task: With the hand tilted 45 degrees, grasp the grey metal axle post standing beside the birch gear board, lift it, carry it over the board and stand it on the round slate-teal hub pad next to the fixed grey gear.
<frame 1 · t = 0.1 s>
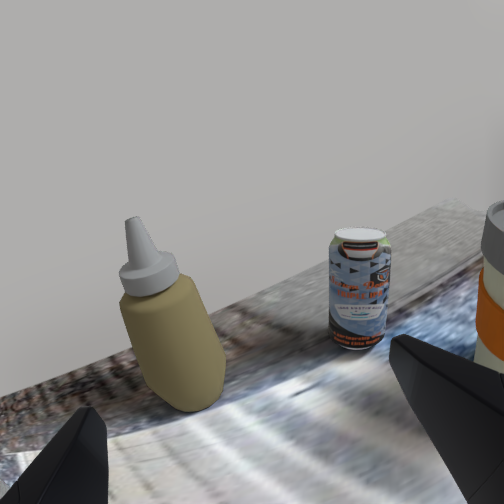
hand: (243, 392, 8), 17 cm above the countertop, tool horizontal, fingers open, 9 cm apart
beverage can: (358, 337, 33), on the countertop
squeeze bottle: (195, 392, 30), on the countertop
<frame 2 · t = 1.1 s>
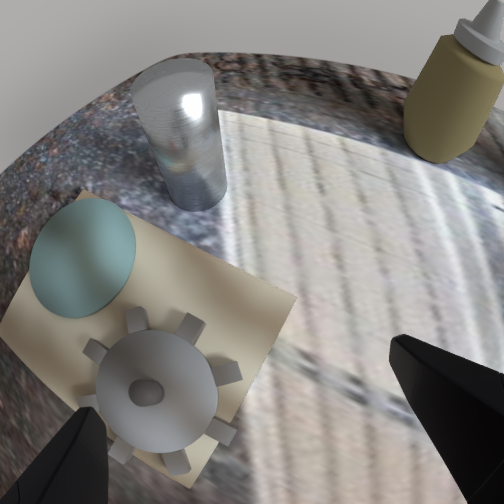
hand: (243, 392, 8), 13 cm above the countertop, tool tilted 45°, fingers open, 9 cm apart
board: (122, 325, 21), on the countertop
axle: (198, 186, 26), on the countertop
squeeze bottle: (426, 143, 28), on the countertop
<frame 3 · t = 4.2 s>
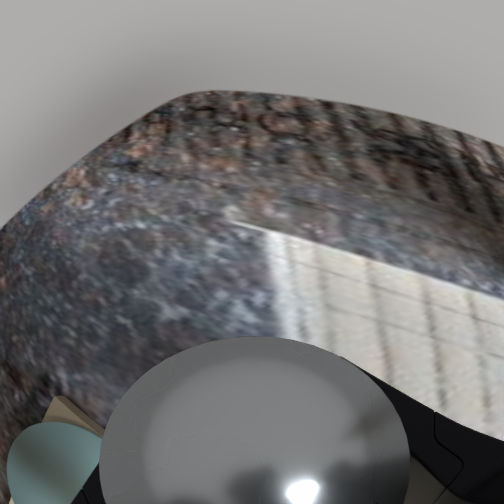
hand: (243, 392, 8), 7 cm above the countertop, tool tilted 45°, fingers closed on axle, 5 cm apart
axle: (255, 413, 14), on the countertop, touching gripper
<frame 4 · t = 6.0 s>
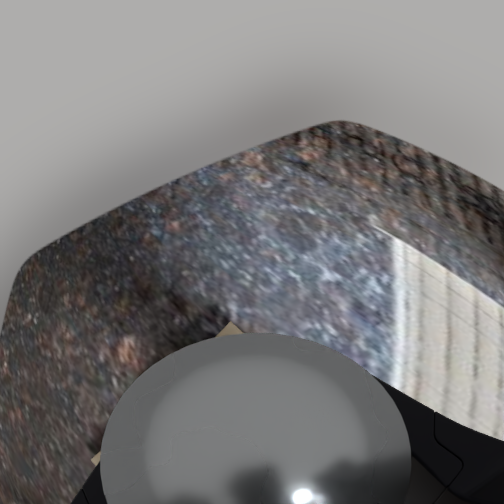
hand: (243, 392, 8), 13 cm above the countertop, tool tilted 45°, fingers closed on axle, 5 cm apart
axle: (255, 412, 14), point 7 cm above the countertop, touching gripper
when the fingers open (9 cm above the countertop, at t = 7.5 s): axle drops 1 cm, resting on board.
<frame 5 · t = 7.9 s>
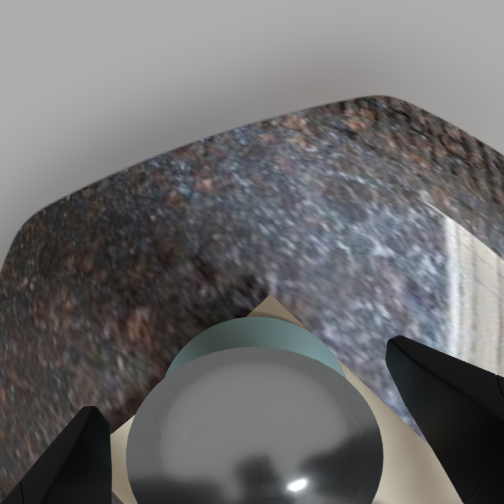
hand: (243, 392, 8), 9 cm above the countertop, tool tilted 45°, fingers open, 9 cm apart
board: (296, 502, 14), on the countertop
axle: (255, 411, 15), point 1 cm above the countertop, touching board
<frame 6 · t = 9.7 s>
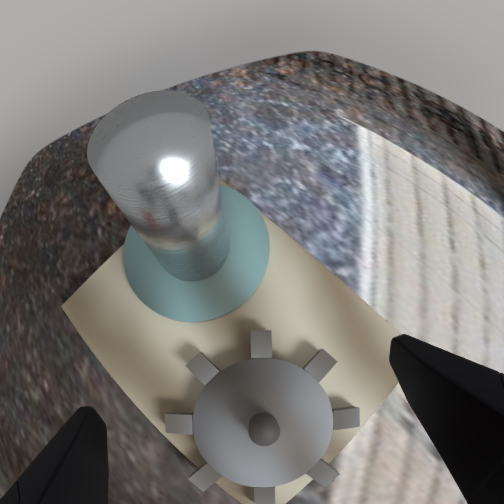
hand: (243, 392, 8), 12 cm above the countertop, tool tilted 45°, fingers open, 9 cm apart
board: (232, 340, 20), on the countertop
axle: (193, 246, 21), point 1 cm above the countertop, touching board
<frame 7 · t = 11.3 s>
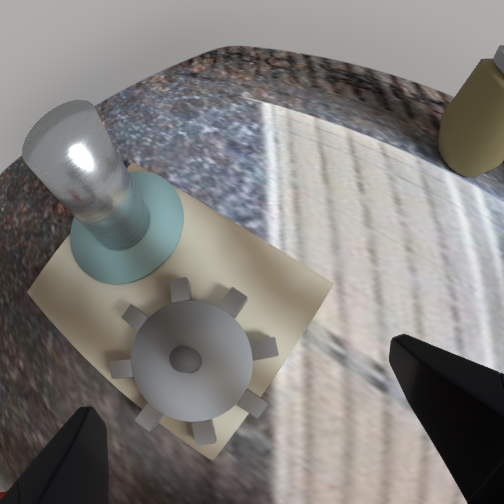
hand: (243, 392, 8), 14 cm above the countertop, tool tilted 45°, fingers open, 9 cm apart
board: (162, 295, 23), on the countertop
axle: (122, 223, 24), point 1 cm above the countertop, touching board
squeeze bottle: (458, 157, 29), on the countertop
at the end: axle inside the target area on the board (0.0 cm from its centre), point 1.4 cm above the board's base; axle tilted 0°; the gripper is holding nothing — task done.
